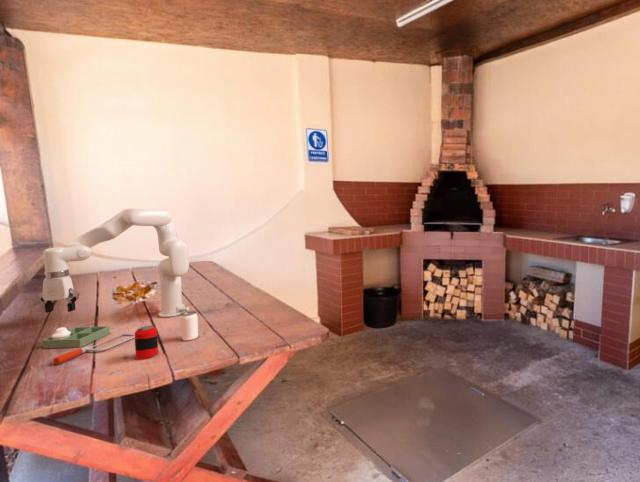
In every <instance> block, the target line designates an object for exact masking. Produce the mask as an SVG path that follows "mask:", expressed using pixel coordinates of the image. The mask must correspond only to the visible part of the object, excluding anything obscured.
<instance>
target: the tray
mask: <svg viewBox="0 0 640 482" xmlns="http://www.w3.org/2000/svg"><path fill="white" fill-rule="evenodd" d="M110 329H111V328H110V325H105V326H103V325H102V326H101V325H100V326H74V327H72V328H69V329H67V330H68V331H70V332H71V334H70V336H69V337H66V338H64V339H61V340H53V338H52V336H49V337H47V338H45V339H42V340H41V345H42V349H62V348H63V349H65V348H67V349H68V348H83V347H85V346H86V345H89V344H90V343H92V342H94V341H97V340H99V339H101V338H103V337H106V336H107V335H109V334H110V333H111V331H110Z"/></svg>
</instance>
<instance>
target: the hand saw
mask: <svg viewBox="0 0 640 482" xmlns="http://www.w3.org/2000/svg"><path fill="white" fill-rule="evenodd" d="M121 336H129V337H127V338H124V339H122V340H120V341H117V342H114V343H113V344H110V345H108V346H105V347H101V348H94V347H97V346H98V345H100V344H104V343H106V342H108V341H109V342H110V341H111V340H114V339H116V338H118V337H121ZM132 339H135V333H131V332H123V333H122V334H119V335H116V336H115V337H112V338H109V339H107V340H105V341H102V342H100V343H97V344H95V345H89V346H86V345H84V346H82V347H80V348H77V349H74V350H72V351H68V352H66V353H63V354H61V355H58V356H55V357H54V358H53V361H52V362H53V364H54V365H60V364H63V363H66V362H68V361H70V360H73V359H74V358H76V357H78V356H81V355H82V354H85V353H88V352H101V351H105V350H108V349H111V348H114V347H115V346H118V345H120V344H123V343H125V342H127V341H130V340H132Z"/></svg>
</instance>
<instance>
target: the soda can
mask: <svg viewBox="0 0 640 482" xmlns="http://www.w3.org/2000/svg"><path fill="white" fill-rule="evenodd" d="M134 334H135V338H134V348H135V350H134V351H135V358H136V360H147V359H151V358H154V357H155V356H157V355H158V354H159V343H158V341H159V340H158V328H157V327H156V326H154V325H144V326H141V327H139V328H137V329H136V330H135V332H134Z"/></svg>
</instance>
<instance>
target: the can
mask: <svg viewBox="0 0 640 482" xmlns="http://www.w3.org/2000/svg"><path fill="white" fill-rule="evenodd" d="M198 320H199V319H198V314H197V311H195V310H194V311H193V310H192V311H186V312H185V313H183V314H181V317H180V324H181V325H180V327H181V340H182V341H184V342H187V341H188V342H189V341H193V340H195V339H198V337H199V321H198Z"/></svg>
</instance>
